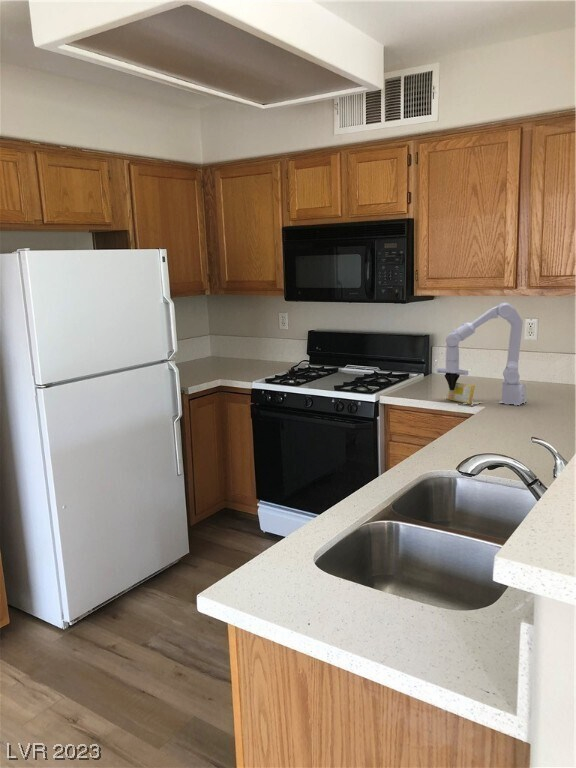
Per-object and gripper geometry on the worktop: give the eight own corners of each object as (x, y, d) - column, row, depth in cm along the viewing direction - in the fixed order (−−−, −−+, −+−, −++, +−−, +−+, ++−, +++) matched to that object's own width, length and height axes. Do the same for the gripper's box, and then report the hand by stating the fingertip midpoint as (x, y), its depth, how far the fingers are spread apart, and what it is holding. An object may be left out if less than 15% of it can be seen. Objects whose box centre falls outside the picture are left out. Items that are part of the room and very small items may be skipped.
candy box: (472, 404, 268) (475, 385, 267) (468, 404, 267) (471, 385, 266) (449, 399, 283) (452, 381, 282) (445, 398, 282) (448, 381, 281)
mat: (482, 402, 273) (482, 402, 272) (472, 406, 265) (472, 406, 265) (468, 401, 277) (468, 400, 277) (457, 404, 270) (457, 404, 270)
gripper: (471, 360, 272) (471, 390, 274) (442, 357, 282) (441, 386, 284) (464, 362, 267) (463, 392, 269) (434, 359, 277) (434, 389, 279)
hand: (451, 389), depth 276 cm, fingers closed
